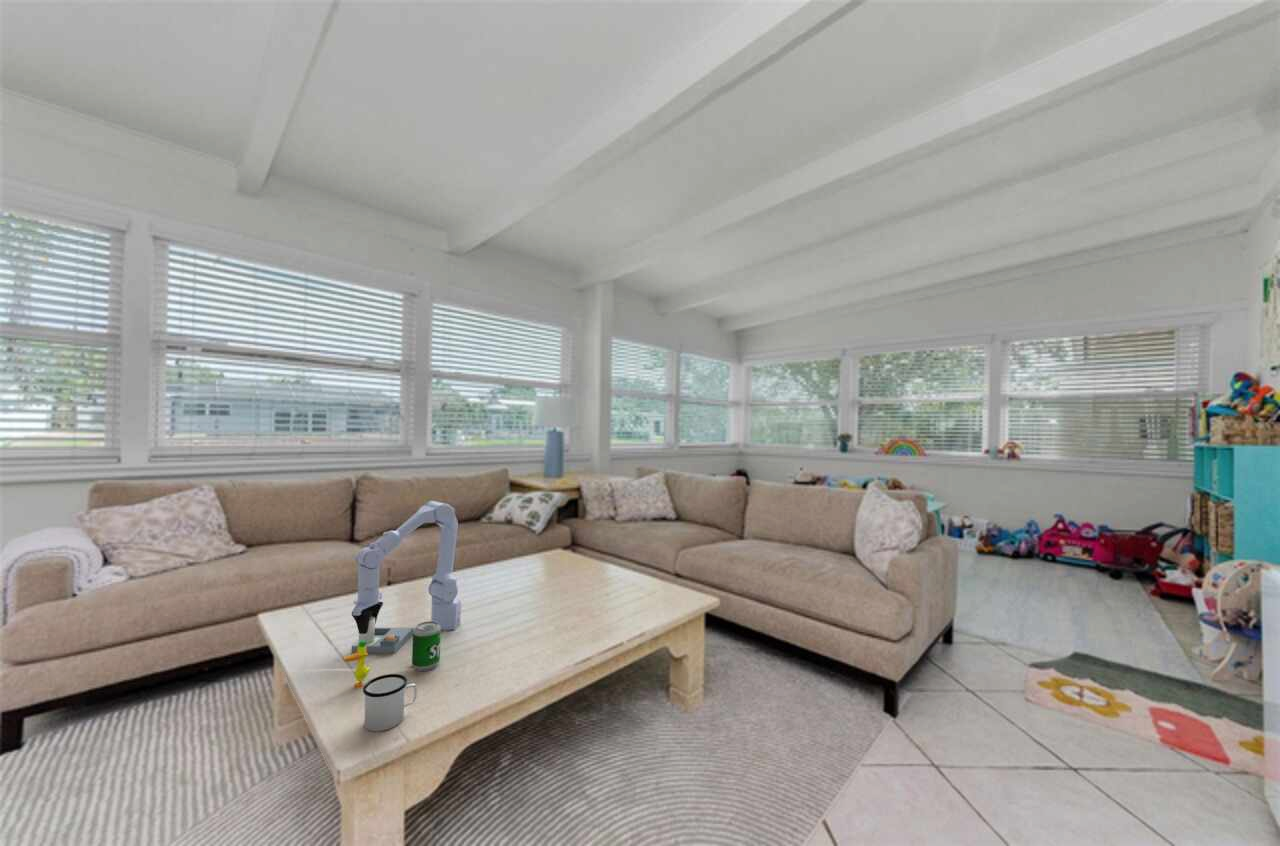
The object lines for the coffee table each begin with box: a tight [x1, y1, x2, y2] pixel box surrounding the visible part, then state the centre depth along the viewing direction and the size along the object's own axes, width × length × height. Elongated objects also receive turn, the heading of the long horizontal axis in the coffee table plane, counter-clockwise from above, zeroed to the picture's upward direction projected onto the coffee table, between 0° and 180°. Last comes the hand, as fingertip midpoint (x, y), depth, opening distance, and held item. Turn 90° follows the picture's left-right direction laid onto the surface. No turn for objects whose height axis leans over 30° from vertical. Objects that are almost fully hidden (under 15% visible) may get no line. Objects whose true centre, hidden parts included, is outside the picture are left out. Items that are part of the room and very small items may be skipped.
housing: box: [351, 627, 414, 654], centre depth 156 cm, size 13×14×4 cm
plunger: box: [385, 635, 395, 641], centre depth 151 cm, size 3×3×2 cm
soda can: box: [411, 620, 442, 672], centre depth 142 cm, size 8×8×12 cm
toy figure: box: [343, 640, 372, 689], centre depth 131 cm, size 7×4×12 cm, turn 132°
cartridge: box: [358, 616, 376, 643], centre depth 151 cm, size 4×4×7 cm
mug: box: [362, 673, 418, 732], centre depth 117 cm, size 12×10×9 cm
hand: (367, 629), depth 151 cm, fingers closed on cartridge, 4 cm apart
